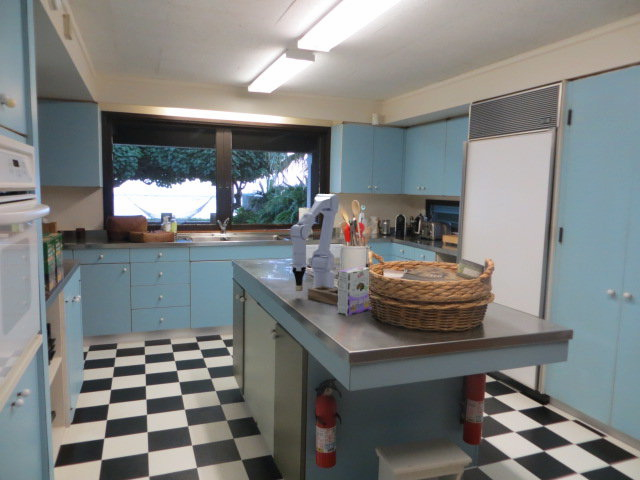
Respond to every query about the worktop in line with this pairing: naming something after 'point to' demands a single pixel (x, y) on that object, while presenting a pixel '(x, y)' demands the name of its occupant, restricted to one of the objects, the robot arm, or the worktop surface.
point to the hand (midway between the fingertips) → (299, 284)
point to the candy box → (353, 291)
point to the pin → (299, 287)
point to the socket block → (324, 294)
